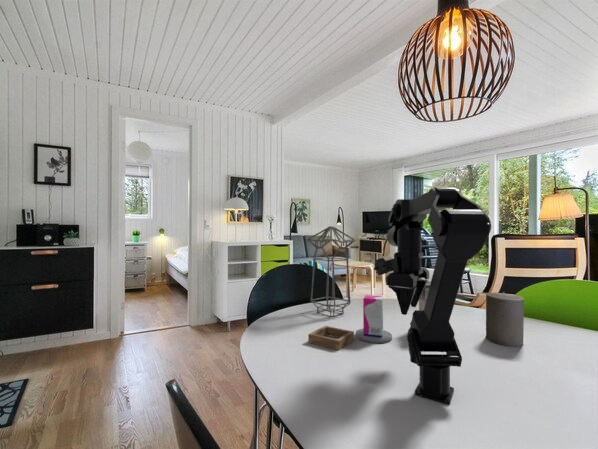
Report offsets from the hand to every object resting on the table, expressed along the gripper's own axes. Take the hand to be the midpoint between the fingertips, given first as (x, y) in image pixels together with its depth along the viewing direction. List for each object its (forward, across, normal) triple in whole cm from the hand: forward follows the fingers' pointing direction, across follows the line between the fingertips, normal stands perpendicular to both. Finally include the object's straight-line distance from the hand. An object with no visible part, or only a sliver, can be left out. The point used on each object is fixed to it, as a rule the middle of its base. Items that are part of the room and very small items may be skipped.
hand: (409, 310), depth 77 cm
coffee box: (+13, -28, 0) cm, 31 cm away
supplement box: (+12, -13, -14) cm, 23 cm away
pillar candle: (+13, -33, +20) cm, 41 cm away
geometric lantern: (+13, -30, -38) cm, 50 cm away
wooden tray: (+13, -2, -23) cm, 26 cm away
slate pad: (+13, -13, -14) cm, 23 cm away
